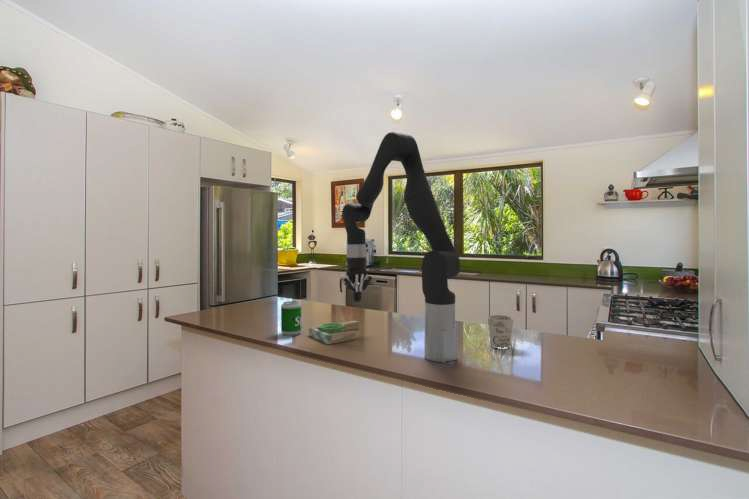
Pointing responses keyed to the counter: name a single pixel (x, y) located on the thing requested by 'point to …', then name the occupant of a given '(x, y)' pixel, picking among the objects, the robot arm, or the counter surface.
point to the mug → (500, 330)
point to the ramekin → (332, 328)
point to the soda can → (291, 318)
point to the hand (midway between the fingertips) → (357, 301)
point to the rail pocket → (335, 337)
